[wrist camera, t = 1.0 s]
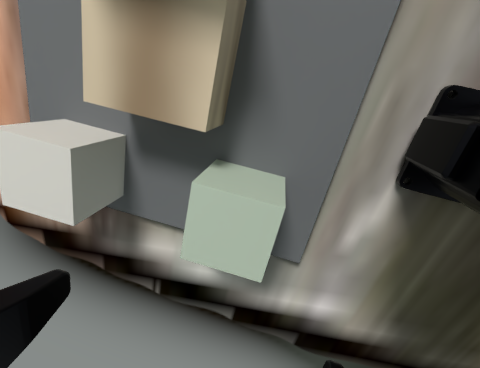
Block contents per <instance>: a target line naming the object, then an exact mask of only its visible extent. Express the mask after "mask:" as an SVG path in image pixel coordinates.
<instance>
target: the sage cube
mask: <svg viewBox="0 0 480 368" xmlns="http://www.w3.org/2000/svg"><path fill="white" fill-rule="evenodd" d="M285 208H286V203H285V177H282V176H278V175H275V174H271V173H267V172H263V171H260V170H256V169H252V168H248V167H244V166H241V165H237V164H233V163H229V162H225V161H222V160H218V159H216V160H215V161H214V162H213V163H212V164H211V165H210V166H209V167H208V168H207V169H206V170H204V171H203V172H202V173H201V174H200V175H199V176H198V177H197V178H196V179H195V180H194V181H193V182H192V184H191V191H190V197H189V204H188V210H187V216H186V223H185V229H184V236H183V242H182V249H181V255H180V258H181V259H184V260H187V261H191V262H194V263H197V264H201V265H204V266H207V267H210V268H214V269H217V270H220V271H224V272H227V273H230V274H234V275H237V276H240V277H243V278H247V279H250V280H253V281H257V282H260V283H261V282H262V279H263V276H264V273H265V270H266V266H267V263H268V260H269V257H270V254H271V251H272V248H273V245H274V242H275V239H276V236H277V233H278V230H279V227H280V223H281V220H282V217H283V214H284V211H285Z"/></svg>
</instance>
